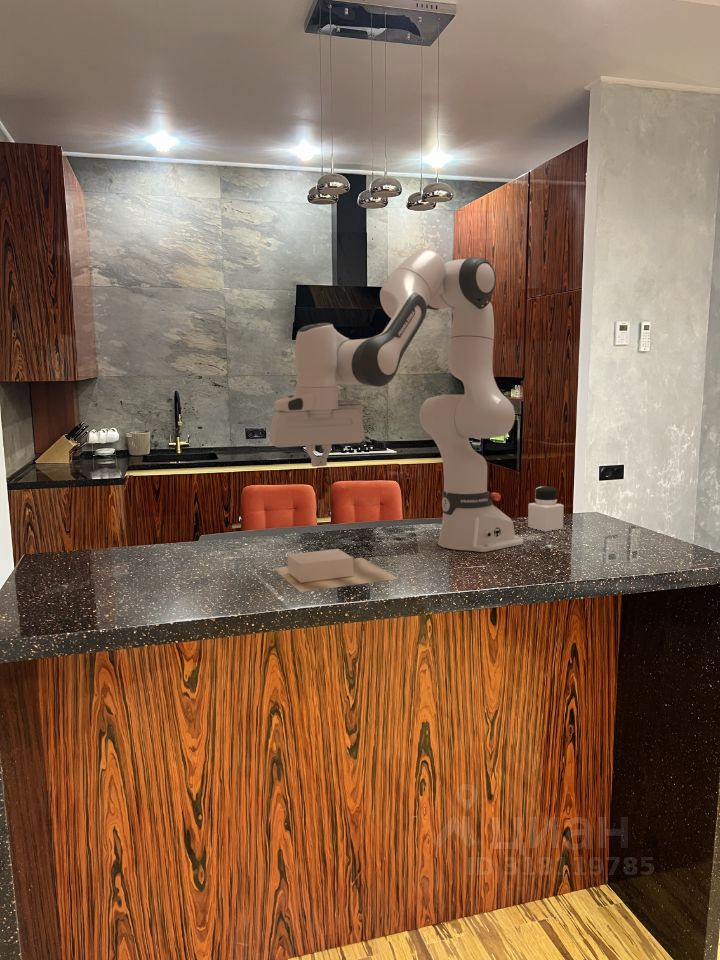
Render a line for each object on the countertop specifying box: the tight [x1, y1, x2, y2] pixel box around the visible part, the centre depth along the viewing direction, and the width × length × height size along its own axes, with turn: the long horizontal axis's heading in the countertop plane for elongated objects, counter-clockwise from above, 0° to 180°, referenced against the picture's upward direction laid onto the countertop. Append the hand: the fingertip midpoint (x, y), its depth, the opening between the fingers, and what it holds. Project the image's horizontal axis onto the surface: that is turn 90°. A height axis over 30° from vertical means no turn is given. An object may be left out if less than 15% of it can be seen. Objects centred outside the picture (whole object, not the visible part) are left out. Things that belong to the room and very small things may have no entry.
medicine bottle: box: [527, 486, 565, 533], centre depth 201 cm, size 7×7×12 cm
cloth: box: [273, 557, 399, 593], centre depth 155 cm, size 22×20×1 cm
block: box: [287, 548, 354, 583], centre depth 154 cm, size 4×9×12 cm
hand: (319, 466), depth 151 cm, fingers closed
